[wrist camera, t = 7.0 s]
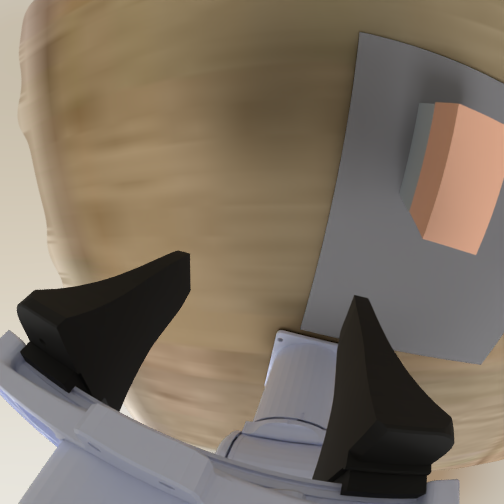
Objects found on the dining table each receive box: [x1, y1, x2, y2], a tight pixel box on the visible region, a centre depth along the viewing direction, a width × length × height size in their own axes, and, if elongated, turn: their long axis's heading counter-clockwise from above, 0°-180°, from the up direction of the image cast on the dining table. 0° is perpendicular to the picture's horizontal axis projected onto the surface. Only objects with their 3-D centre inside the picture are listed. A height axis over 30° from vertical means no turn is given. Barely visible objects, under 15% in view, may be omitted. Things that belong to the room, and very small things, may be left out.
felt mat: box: [300, 32, 504, 365], centre depth 18 cm, size 24×20×1 cm
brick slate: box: [399, 103, 435, 213], centre depth 15 cm, size 6×3×4 cm, turn 174°
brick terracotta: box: [409, 102, 504, 255], centre depth 12 cm, size 6×3×4 cm, turn 174°
